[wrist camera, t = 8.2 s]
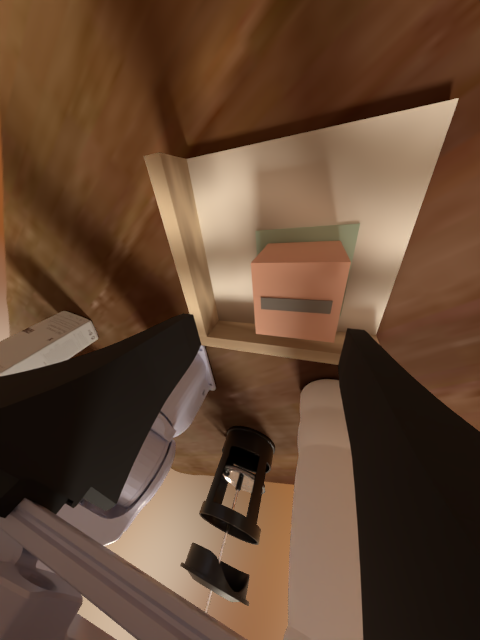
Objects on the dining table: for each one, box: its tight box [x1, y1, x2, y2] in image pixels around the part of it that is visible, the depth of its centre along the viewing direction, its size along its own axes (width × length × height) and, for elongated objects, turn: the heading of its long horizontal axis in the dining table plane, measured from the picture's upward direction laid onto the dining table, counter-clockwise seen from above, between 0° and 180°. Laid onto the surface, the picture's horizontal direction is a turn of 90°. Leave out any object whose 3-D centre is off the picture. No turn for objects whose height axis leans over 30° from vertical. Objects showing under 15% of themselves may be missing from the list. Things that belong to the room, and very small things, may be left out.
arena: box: [144, 98, 459, 365], centre depth 14 cm, size 15×16×4 cm
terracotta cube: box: [251, 241, 351, 343], centre depth 13 cm, size 5×5×5 cm
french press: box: [181, 426, 275, 613], centre depth 27 cm, size 12×9×23 cm
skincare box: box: [0, 311, 98, 376], centre depth 28 cm, size 6×4×12 cm
